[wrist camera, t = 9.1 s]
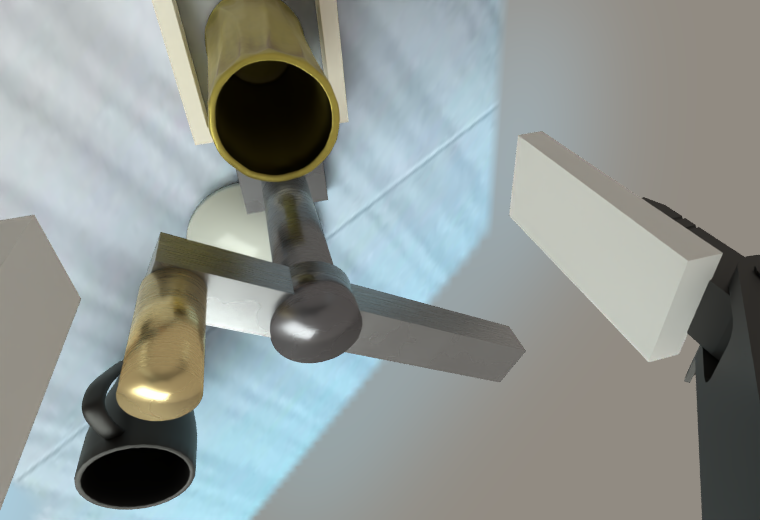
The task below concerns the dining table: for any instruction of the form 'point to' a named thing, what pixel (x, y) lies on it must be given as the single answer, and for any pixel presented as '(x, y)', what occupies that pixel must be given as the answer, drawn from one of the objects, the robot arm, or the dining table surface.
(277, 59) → the vase
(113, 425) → the mug
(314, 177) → the post
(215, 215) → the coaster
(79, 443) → the dining table surface
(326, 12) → the cream rectangular frame
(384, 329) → the bar
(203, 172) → the dining table surface
